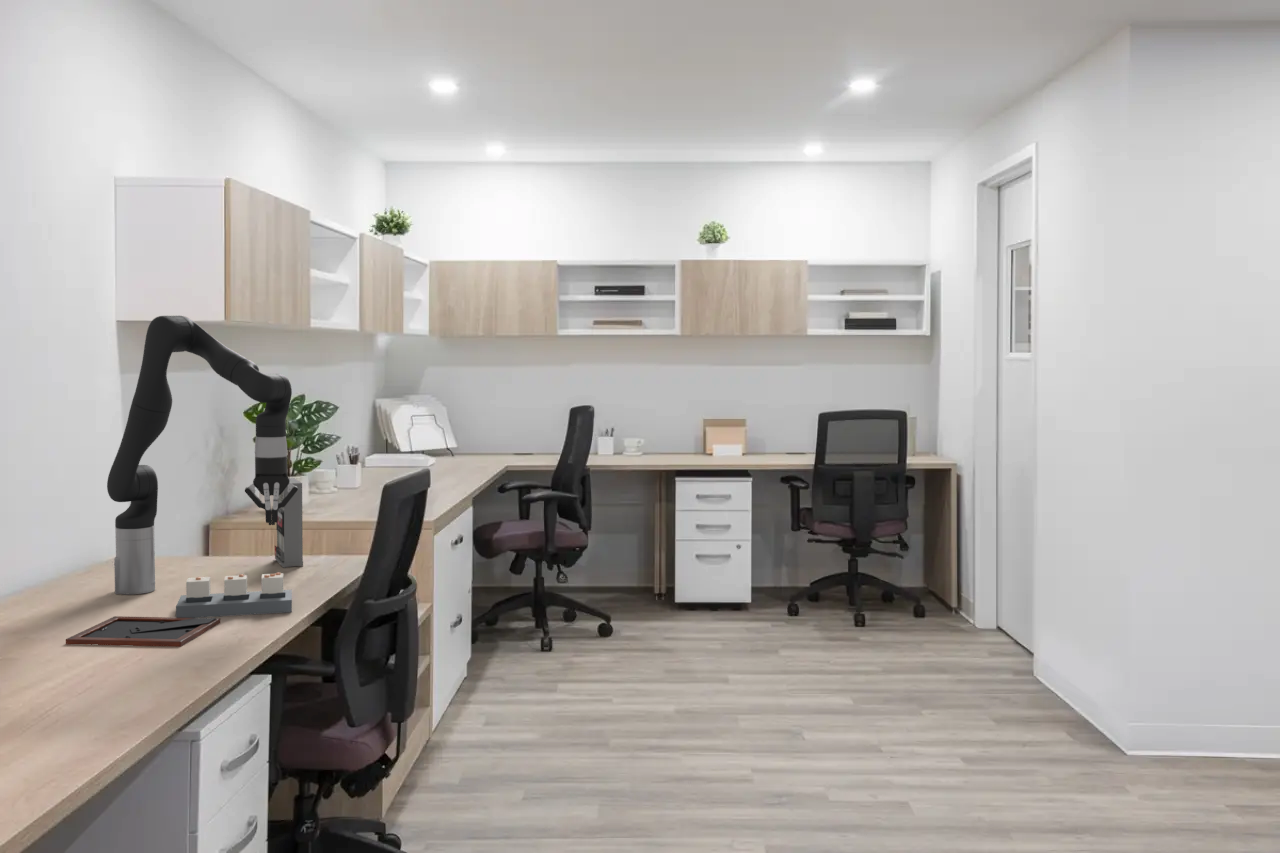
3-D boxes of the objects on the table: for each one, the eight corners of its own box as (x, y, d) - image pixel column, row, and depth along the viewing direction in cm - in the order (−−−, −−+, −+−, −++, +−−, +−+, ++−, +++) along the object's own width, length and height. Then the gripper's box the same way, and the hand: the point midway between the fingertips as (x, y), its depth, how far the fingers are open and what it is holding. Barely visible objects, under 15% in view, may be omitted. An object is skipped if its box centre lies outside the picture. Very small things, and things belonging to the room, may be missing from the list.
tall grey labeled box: (274, 559, 320) (273, 478, 318) (294, 558, 323) (294, 478, 321) (281, 568, 308) (281, 483, 306) (303, 566, 310) (302, 483, 309)
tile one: (186, 599, 250) (186, 580, 250) (188, 595, 255) (188, 576, 255) (208, 598, 252) (208, 579, 252) (210, 594, 257) (210, 575, 256)
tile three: (261, 595, 256) (261, 576, 255) (262, 591, 260) (262, 572, 260) (283, 594, 257) (283, 575, 257) (283, 590, 262) (283, 571, 262)
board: (176, 618, 247) (175, 606, 246) (181, 607, 258) (181, 595, 258) (291, 612, 255) (291, 599, 255) (291, 601, 266) (291, 589, 266)
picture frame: (220, 625, 243) (114, 623, 244) (220, 617, 243) (114, 615, 244) (180, 649, 223) (65, 647, 224) (180, 640, 223) (65, 637, 224)
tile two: (224, 597, 253) (224, 578, 253) (225, 593, 258) (225, 574, 257) (246, 596, 255) (246, 577, 254) (247, 592, 259) (247, 573, 259)
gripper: (241, 456, 251) (242, 528, 252) (299, 455, 255) (300, 525, 256) (243, 454, 258) (244, 523, 259) (299, 453, 262) (299, 521, 263)
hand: (271, 524), depth 258 cm, fingers closed
